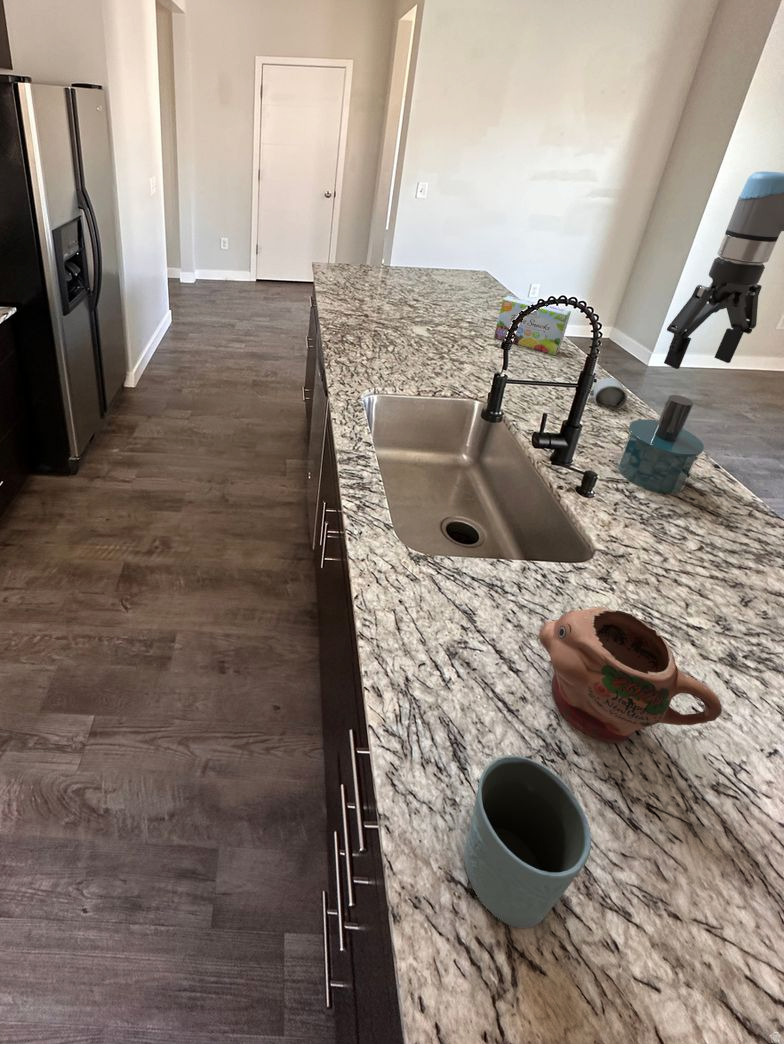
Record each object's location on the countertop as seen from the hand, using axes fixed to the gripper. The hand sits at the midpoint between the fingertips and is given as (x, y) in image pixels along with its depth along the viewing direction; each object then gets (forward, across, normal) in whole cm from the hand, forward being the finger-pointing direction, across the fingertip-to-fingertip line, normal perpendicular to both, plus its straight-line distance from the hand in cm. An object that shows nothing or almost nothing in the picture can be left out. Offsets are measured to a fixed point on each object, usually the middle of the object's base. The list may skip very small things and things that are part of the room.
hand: (696, 363), depth 109 cm
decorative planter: (+29, +53, +40) cm, 72 cm away
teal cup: (+29, +77, +51) cm, 97 cm away
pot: (+29, 0, 0) cm, 29 cm away
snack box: (+29, -24, -71) cm, 80 cm away
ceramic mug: (+29, -16, -30) cm, 45 cm away
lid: (+18, 0, 0) cm, 18 cm away
